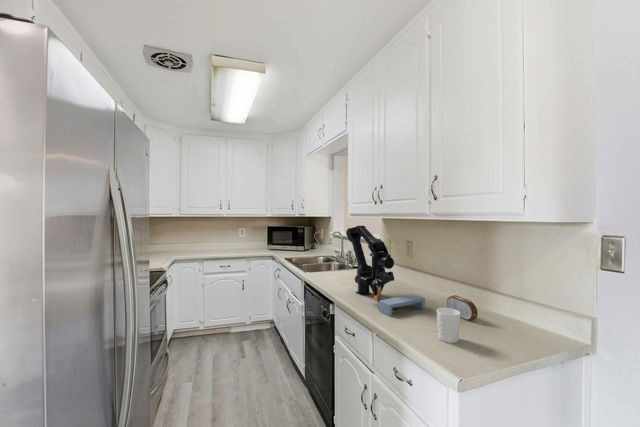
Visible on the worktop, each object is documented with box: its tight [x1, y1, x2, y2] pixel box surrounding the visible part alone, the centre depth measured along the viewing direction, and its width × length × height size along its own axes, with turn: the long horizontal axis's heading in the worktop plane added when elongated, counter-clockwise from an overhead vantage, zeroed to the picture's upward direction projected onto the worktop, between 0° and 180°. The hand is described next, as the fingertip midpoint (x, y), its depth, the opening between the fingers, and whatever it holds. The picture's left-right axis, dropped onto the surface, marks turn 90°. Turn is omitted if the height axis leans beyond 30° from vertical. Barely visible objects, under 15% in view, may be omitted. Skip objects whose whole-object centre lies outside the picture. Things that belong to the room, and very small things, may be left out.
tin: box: [446, 295, 478, 321], centre depth 126 cm, size 15×3×8 cm, turn 18°
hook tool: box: [373, 286, 402, 310], centre depth 144 cm, size 16×7×7 cm, turn 33°
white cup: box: [436, 307, 461, 344], centre depth 104 cm, size 8×8×10 cm
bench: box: [378, 293, 426, 317], centre depth 136 cm, size 7×22×5 cm, turn 119°
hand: (377, 295), depth 151 cm, fingers closed on hook tool, 3 cm apart
